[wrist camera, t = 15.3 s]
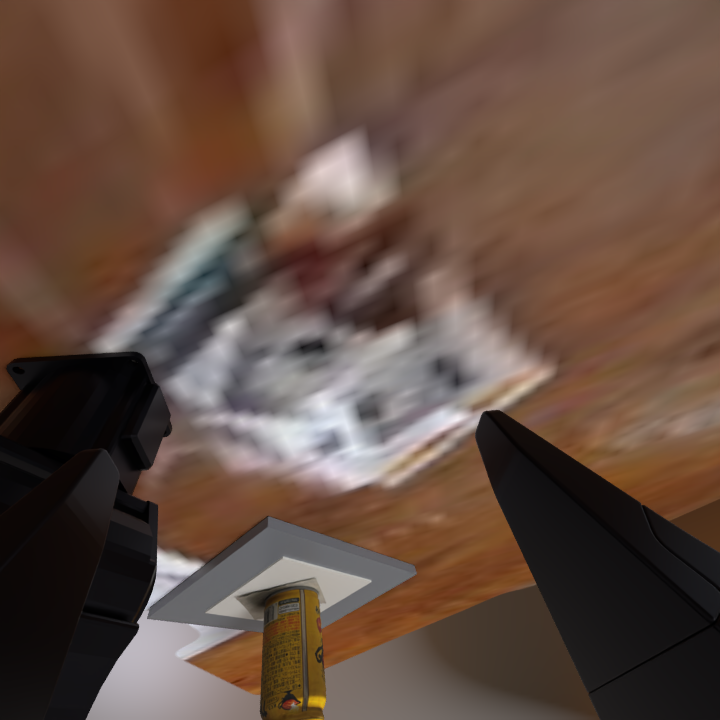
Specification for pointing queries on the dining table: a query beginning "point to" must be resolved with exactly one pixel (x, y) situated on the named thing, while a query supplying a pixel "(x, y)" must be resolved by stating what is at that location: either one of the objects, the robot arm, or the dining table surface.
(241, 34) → the dining table surface
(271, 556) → the grey square board
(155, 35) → the dining table surface
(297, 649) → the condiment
